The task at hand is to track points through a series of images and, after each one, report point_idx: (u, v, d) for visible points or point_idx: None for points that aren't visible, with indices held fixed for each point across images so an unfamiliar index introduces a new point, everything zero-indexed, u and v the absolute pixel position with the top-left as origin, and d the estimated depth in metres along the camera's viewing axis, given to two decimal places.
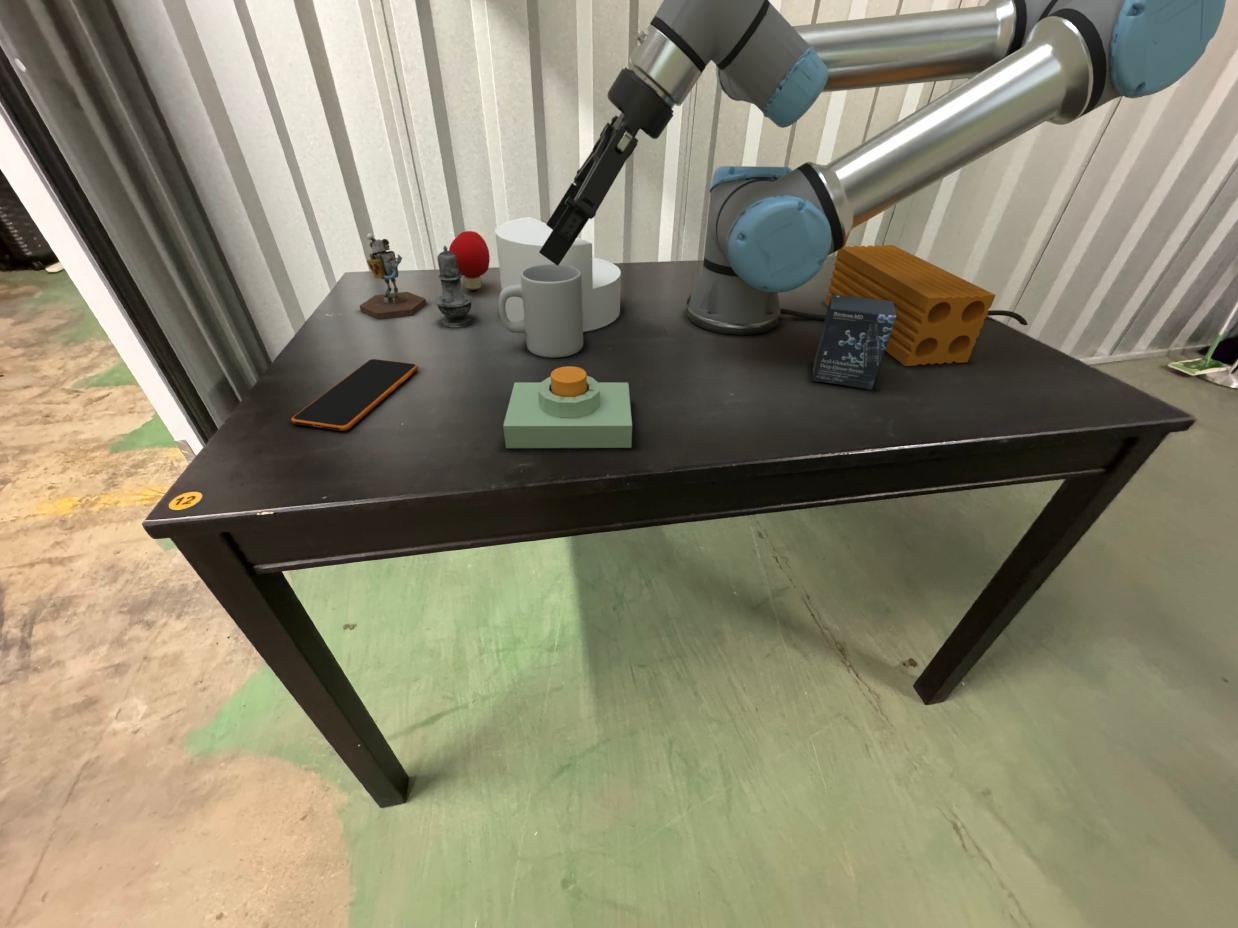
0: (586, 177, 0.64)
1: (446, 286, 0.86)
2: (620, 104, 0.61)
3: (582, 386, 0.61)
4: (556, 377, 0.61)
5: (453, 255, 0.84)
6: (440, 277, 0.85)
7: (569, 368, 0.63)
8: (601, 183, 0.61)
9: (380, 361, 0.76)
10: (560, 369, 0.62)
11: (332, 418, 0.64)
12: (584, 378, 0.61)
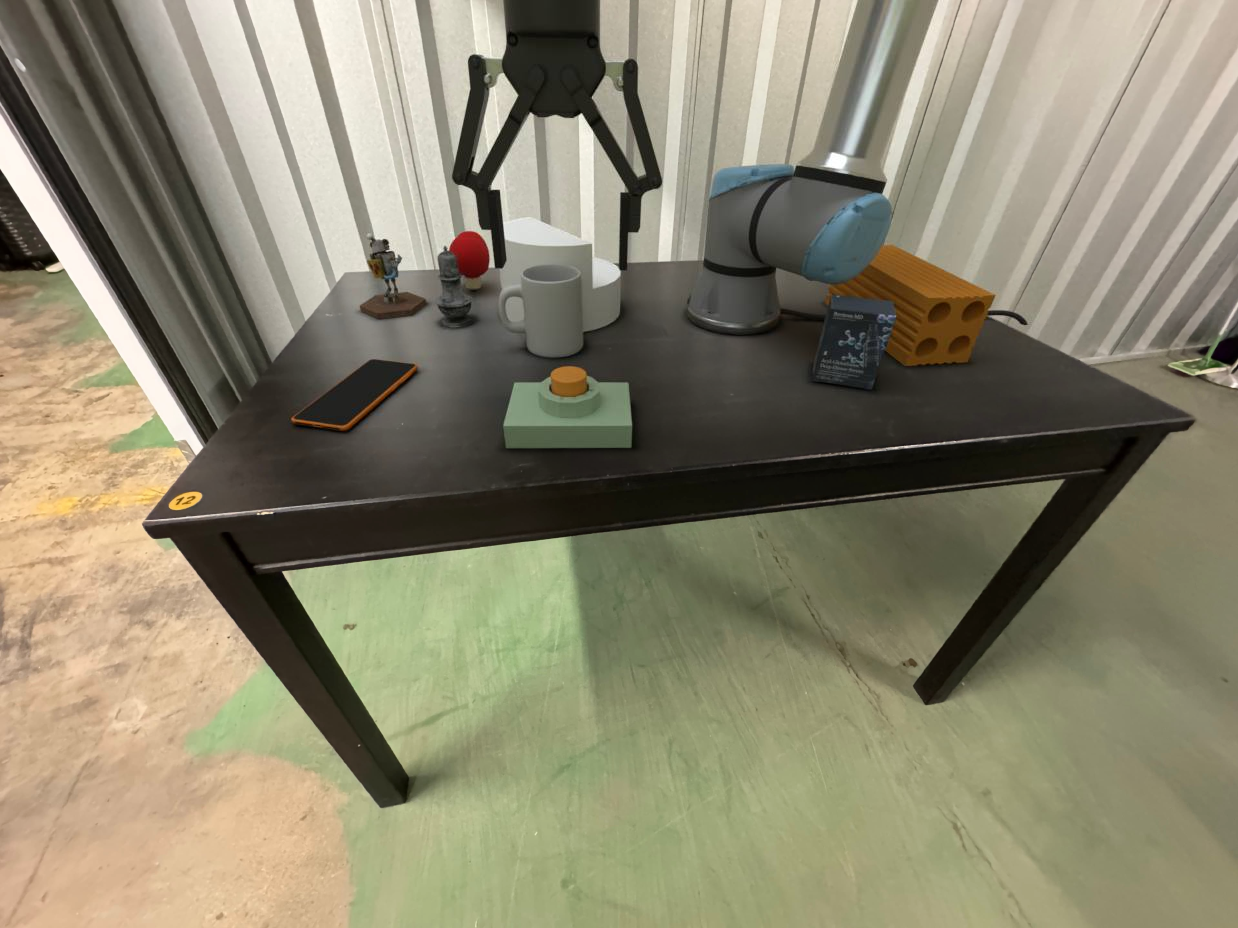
0: (609, 152, 0.48)
1: (446, 286, 0.86)
2: (590, 29, 0.42)
3: (582, 386, 0.61)
4: (556, 377, 0.61)
5: (453, 255, 0.84)
6: (440, 277, 0.85)
7: (569, 368, 0.63)
8: None
9: (380, 361, 0.76)
10: (560, 369, 0.62)
11: (332, 418, 0.64)
12: (584, 378, 0.61)
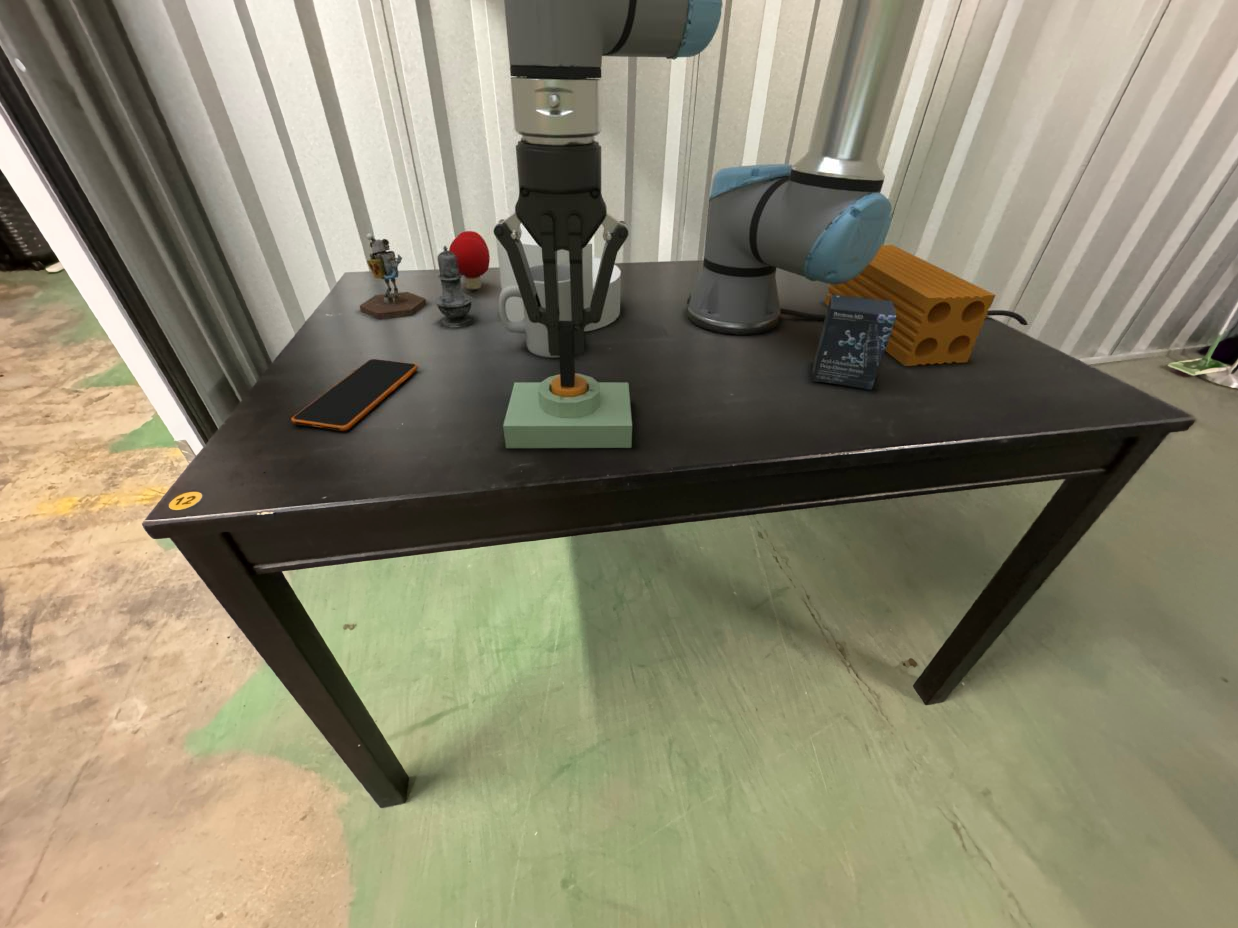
0: (573, 287, 0.54)
1: (446, 286, 0.86)
2: (593, 186, 0.48)
3: (582, 394, 0.62)
4: (556, 385, 0.61)
5: (453, 255, 0.84)
6: (440, 277, 0.85)
7: None
8: None
9: (380, 361, 0.76)
10: None
11: (332, 418, 0.64)
12: (584, 386, 0.62)
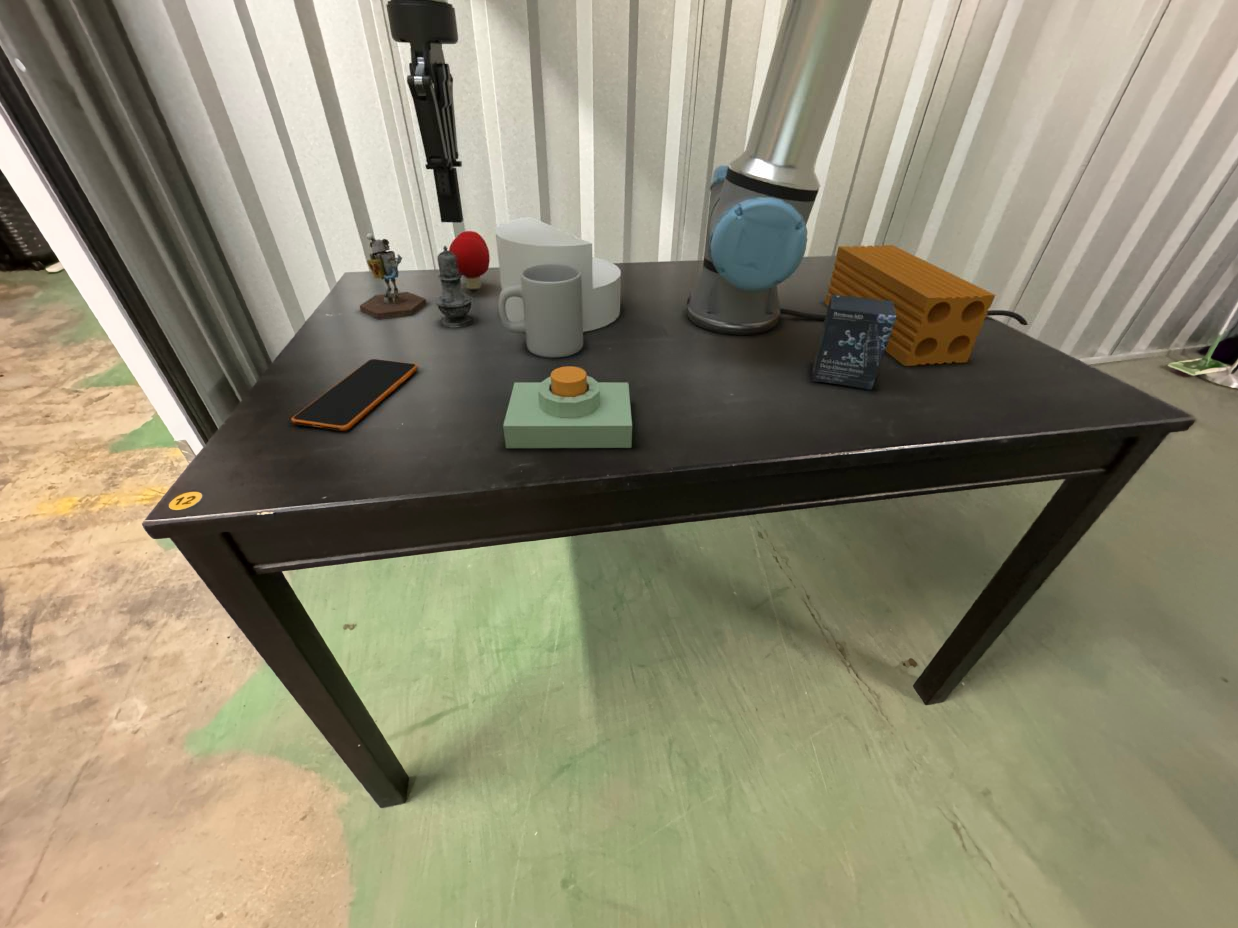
0: (450, 129, 0.71)
1: (446, 286, 0.86)
2: None
3: (582, 386, 0.61)
4: (556, 377, 0.61)
5: (453, 255, 0.84)
6: (440, 277, 0.85)
7: (569, 368, 0.63)
8: None
9: (380, 361, 0.76)
10: (560, 369, 0.62)
11: (332, 418, 0.64)
12: (584, 378, 0.61)
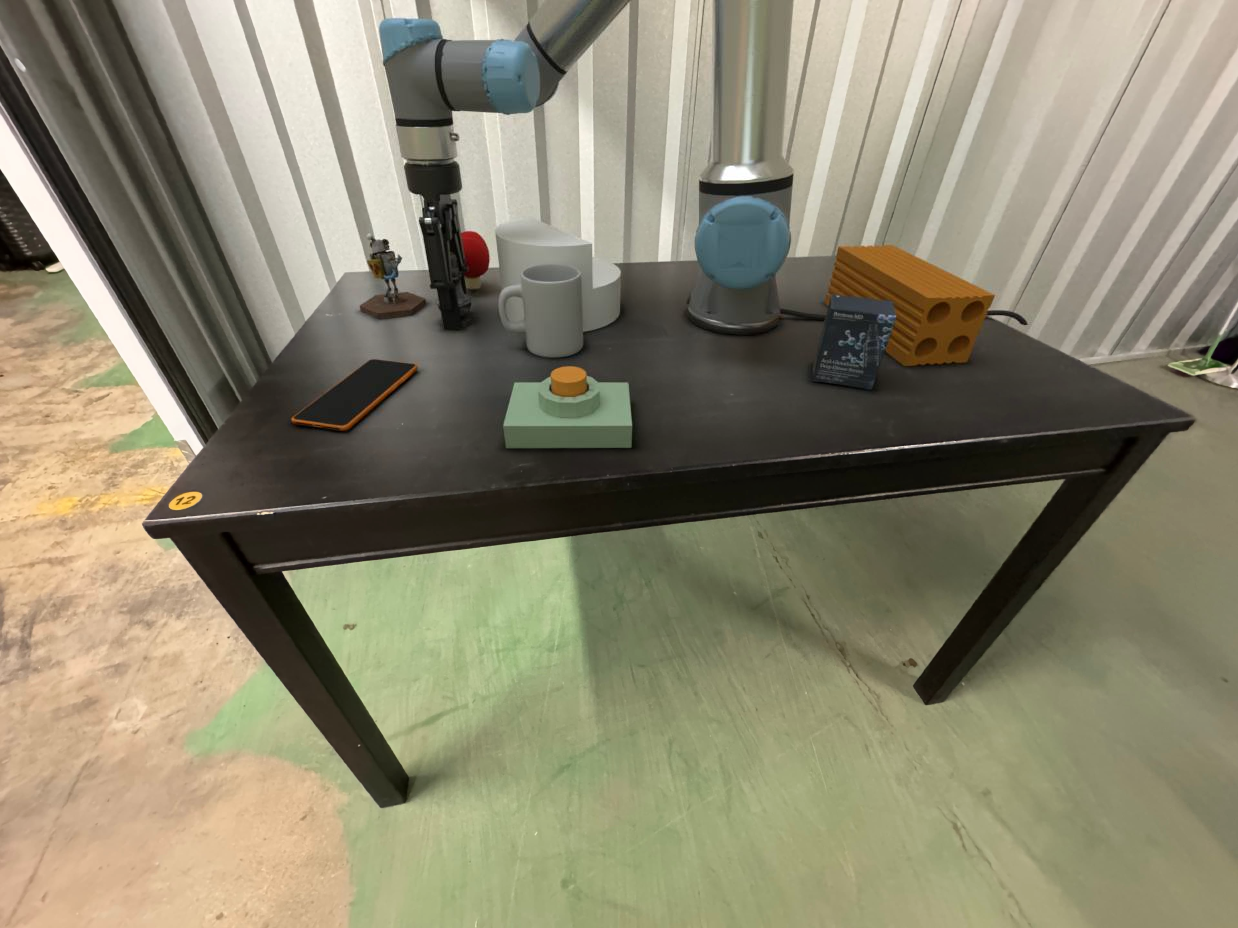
0: (457, 248, 0.86)
1: None
2: None
3: (582, 386, 0.61)
4: (556, 377, 0.61)
5: (453, 255, 0.84)
6: None
7: (569, 368, 0.63)
8: None
9: (380, 361, 0.76)
10: (560, 369, 0.62)
11: (332, 418, 0.64)
12: (584, 378, 0.61)
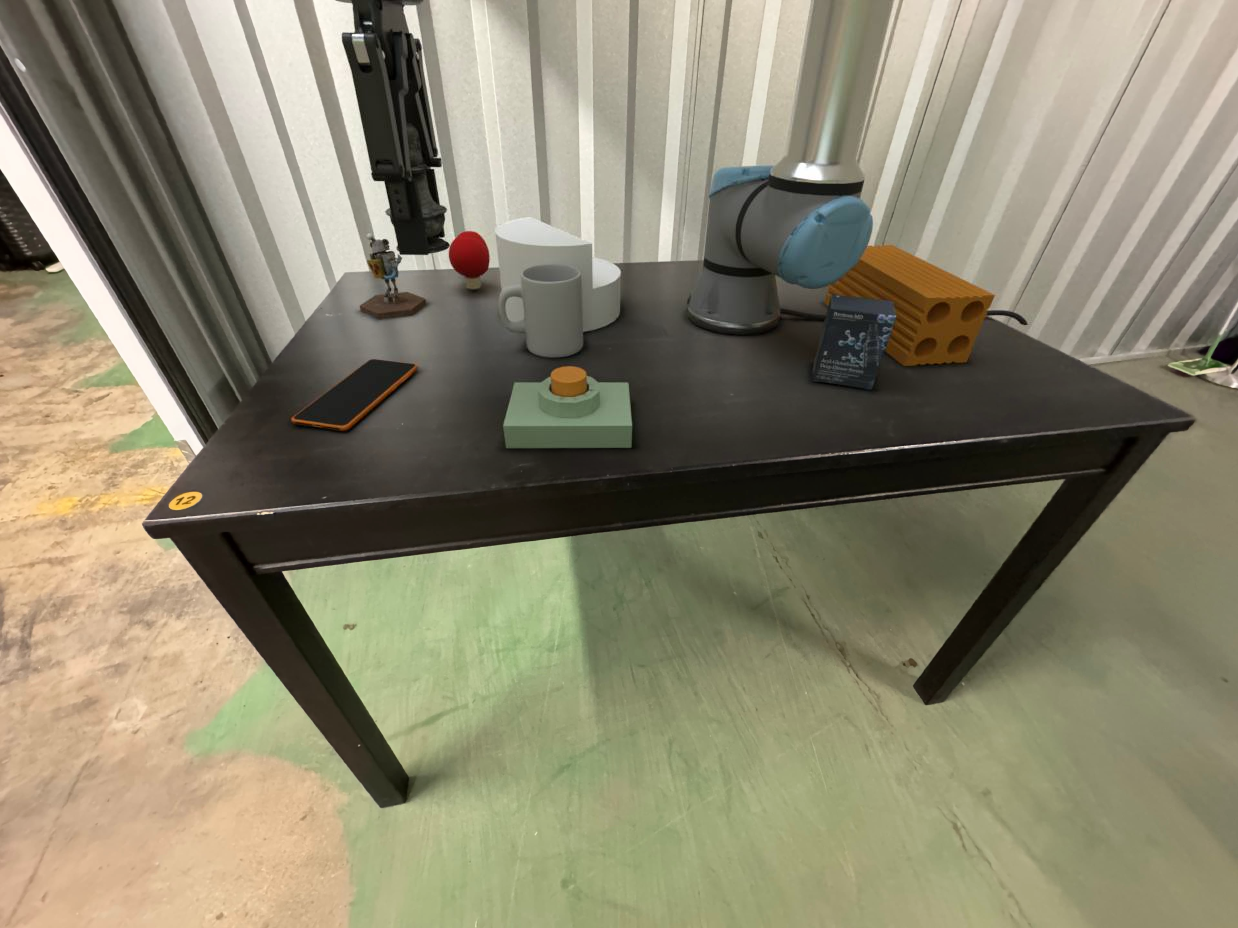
0: (422, 121, 0.53)
1: None
2: None
3: (582, 386, 0.61)
4: (556, 377, 0.61)
5: (412, 127, 0.50)
6: None
7: (569, 368, 0.63)
8: None
9: (380, 361, 0.76)
10: (560, 369, 0.62)
11: (332, 418, 0.64)
12: (584, 378, 0.61)
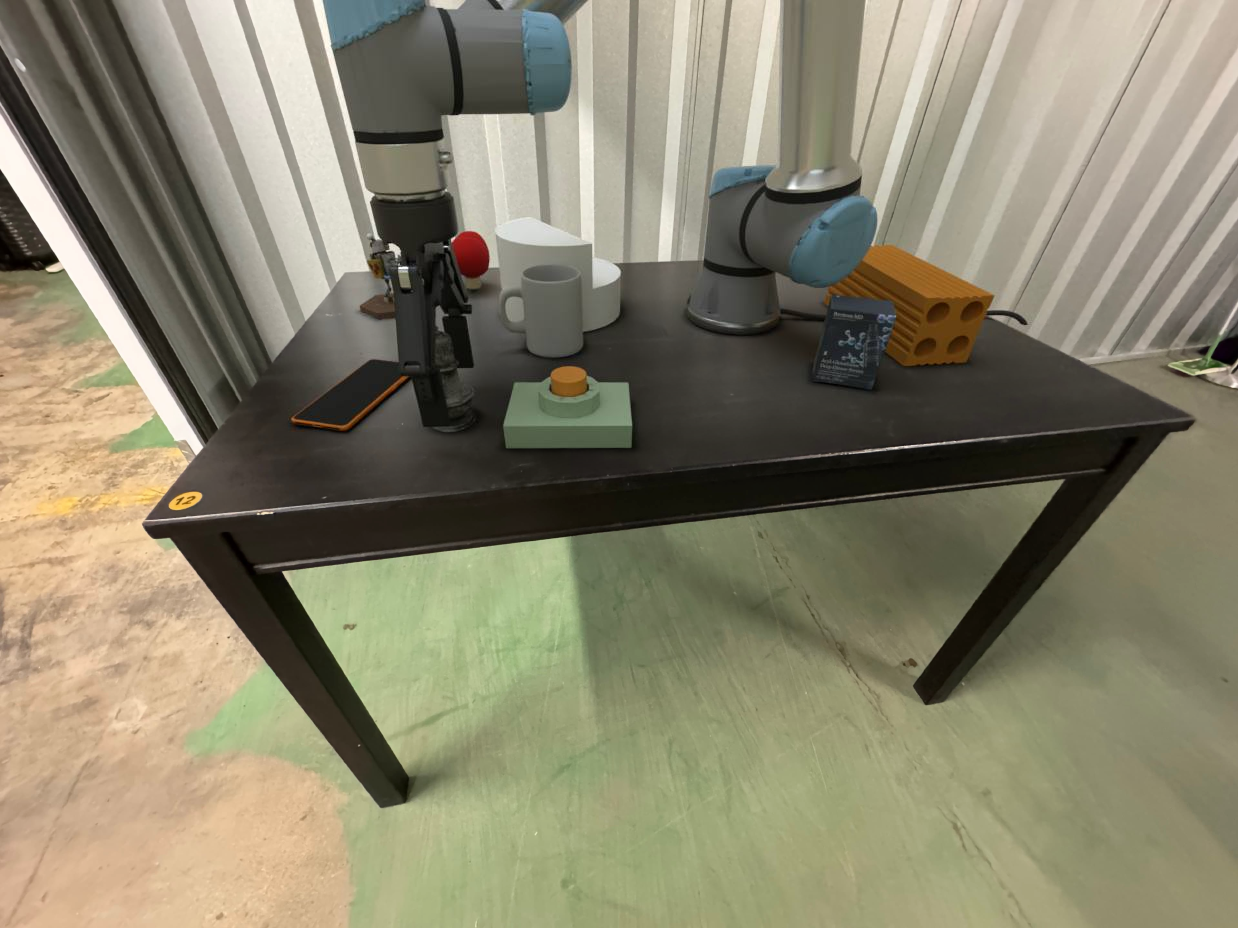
0: (456, 294, 0.62)
1: None
2: None
3: (582, 386, 0.61)
4: (556, 377, 0.61)
5: (446, 337, 0.59)
6: None
7: (569, 368, 0.63)
8: None
9: (380, 361, 0.76)
10: (560, 369, 0.62)
11: (332, 418, 0.64)
12: (584, 378, 0.61)
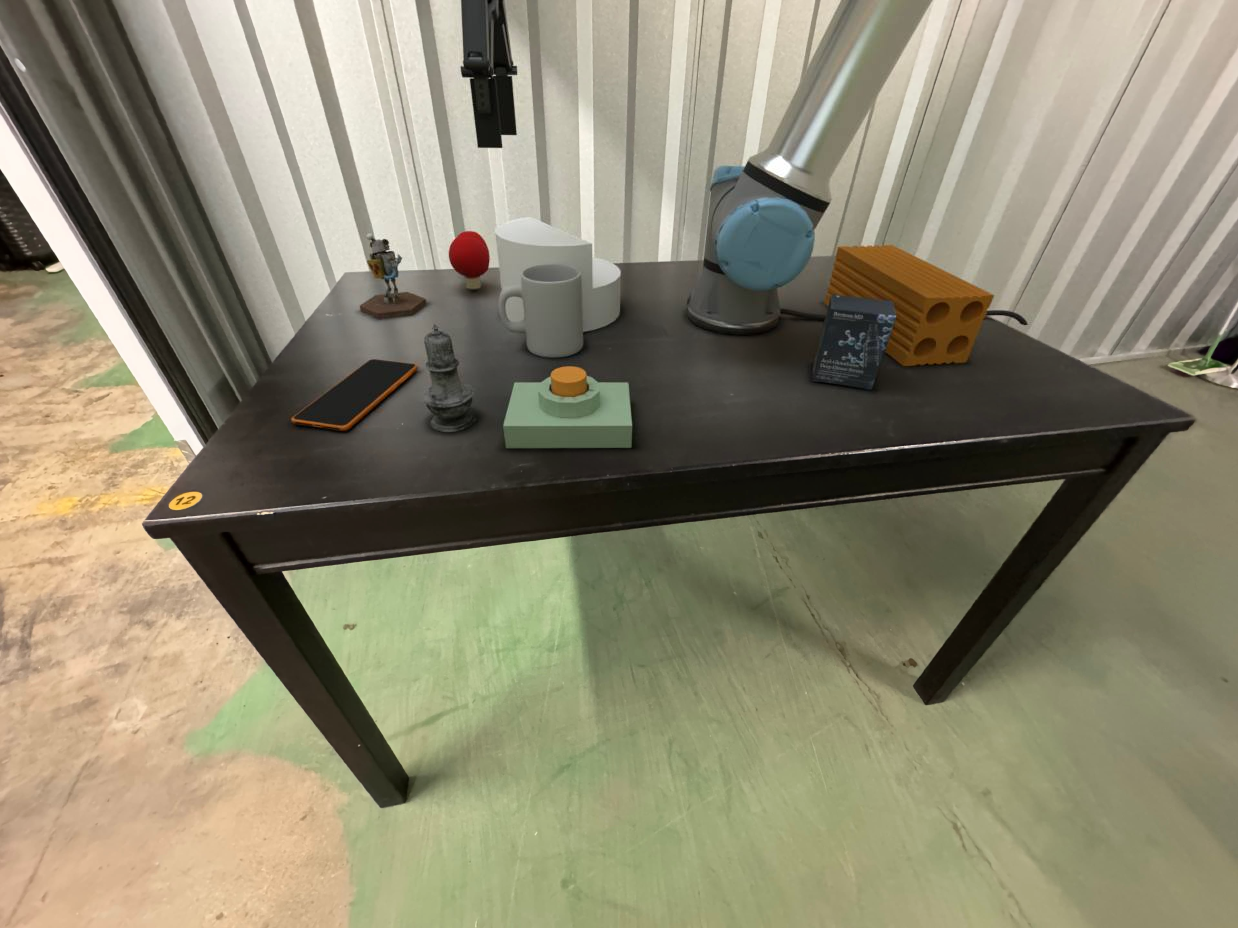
0: (505, 42, 0.67)
1: (437, 378, 0.61)
2: None
3: (582, 386, 0.61)
4: (556, 377, 0.61)
5: (446, 337, 0.59)
6: (428, 367, 0.60)
7: (569, 368, 0.63)
8: None
9: (380, 361, 0.76)
10: (560, 369, 0.62)
11: (332, 418, 0.64)
12: (584, 378, 0.61)
